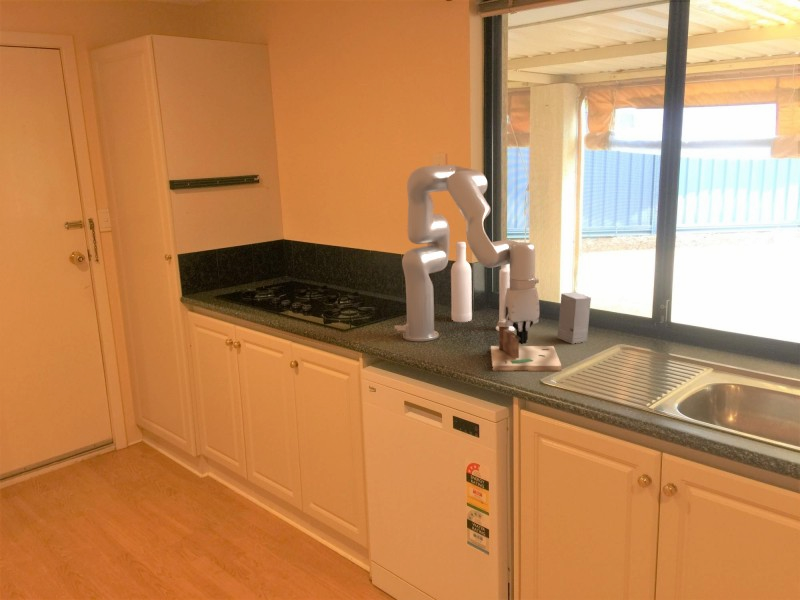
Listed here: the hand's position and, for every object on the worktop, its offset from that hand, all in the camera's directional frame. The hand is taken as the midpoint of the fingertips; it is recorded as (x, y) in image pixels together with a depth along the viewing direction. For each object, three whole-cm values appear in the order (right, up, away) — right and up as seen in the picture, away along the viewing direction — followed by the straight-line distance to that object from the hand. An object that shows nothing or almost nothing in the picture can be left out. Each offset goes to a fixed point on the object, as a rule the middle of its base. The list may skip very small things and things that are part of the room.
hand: (521, 342), depth 207 cm
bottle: (-14, +5, +52) cm, 55 cm away
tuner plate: (+1, -6, +2) cm, 6 cm away
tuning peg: (-3, -4, +2) cm, 5 cm away
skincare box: (+21, -1, +21) cm, 30 cm away
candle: (+1, +2, +37) cm, 37 cm away
